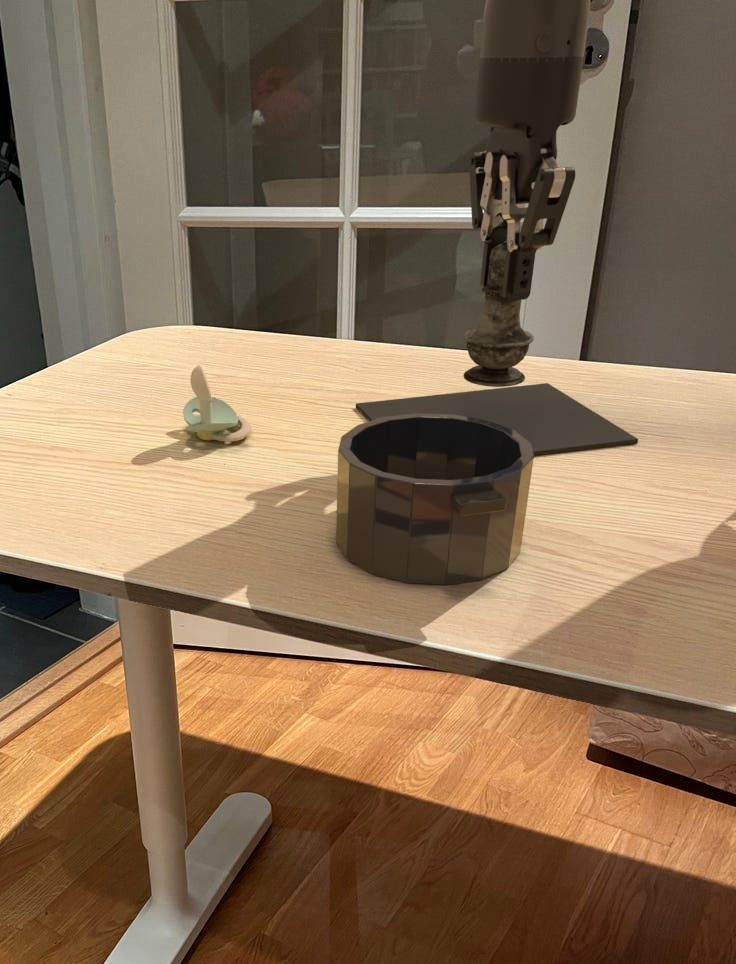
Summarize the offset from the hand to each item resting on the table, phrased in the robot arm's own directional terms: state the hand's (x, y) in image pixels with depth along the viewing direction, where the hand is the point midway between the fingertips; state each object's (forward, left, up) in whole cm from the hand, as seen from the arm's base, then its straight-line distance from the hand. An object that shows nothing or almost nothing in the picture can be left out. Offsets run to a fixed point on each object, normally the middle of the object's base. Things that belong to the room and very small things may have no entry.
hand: (504, 292), depth 78 cm
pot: (+14, +20, -11) cm, 27 cm away
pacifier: (+24, -5, -12) cm, 27 cm away
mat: (0, 0, -11) cm, 11 cm away
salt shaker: (0, 0, -7) cm, 7 cm away
